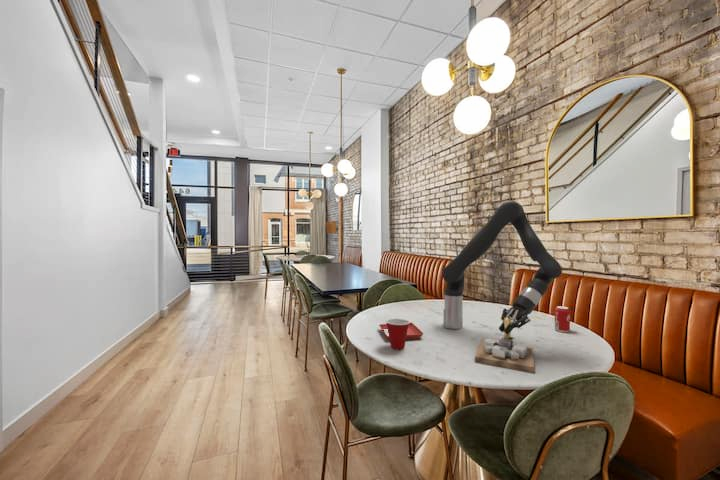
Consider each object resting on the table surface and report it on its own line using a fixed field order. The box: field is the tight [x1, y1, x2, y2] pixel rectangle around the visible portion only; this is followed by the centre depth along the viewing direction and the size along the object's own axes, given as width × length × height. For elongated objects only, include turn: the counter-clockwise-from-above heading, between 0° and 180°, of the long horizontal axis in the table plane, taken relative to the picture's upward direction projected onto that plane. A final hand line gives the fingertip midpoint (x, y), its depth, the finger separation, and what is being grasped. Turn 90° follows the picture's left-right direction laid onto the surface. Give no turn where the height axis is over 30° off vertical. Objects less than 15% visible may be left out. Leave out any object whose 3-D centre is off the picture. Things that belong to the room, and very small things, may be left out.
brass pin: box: [503, 317, 512, 340], centre depth 124 cm, size 2×2×12 cm
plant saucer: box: [378, 321, 424, 341], centre depth 148 cm, size 18×18×3 cm
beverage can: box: [554, 305, 571, 333], centre depth 151 cm, size 6×6×12 cm
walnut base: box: [474, 338, 535, 374], centre depth 121 cm, size 20×20×6 cm
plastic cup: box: [385, 318, 411, 350], centre depth 132 cm, size 11×11×12 cm
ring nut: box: [483, 336, 528, 359], centre depth 120 cm, size 15×15×4 cm
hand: (503, 331), depth 124 cm, fingers closed on brass pin, 2 cm apart
